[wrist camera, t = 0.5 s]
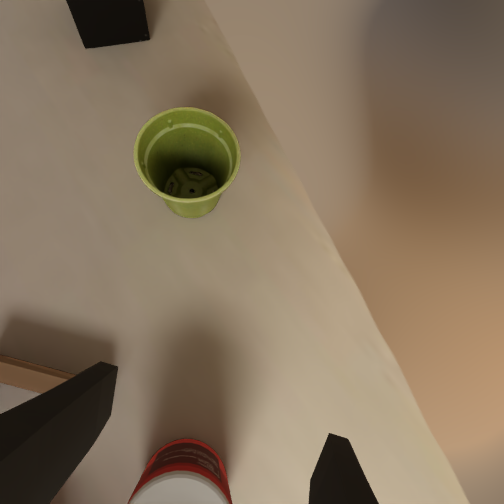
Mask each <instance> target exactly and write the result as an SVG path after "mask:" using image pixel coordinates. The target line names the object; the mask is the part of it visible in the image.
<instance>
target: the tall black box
mask: <svg viewBox="0 0 504 504" xmlns="http://www.w3.org/2000/svg"><path fill="white" fill-rule="evenodd" d="M66 1H67V3H68V6H69V9H70V11H71V14H72V16H73V19H74V21H75V24H76V26H77V29H78V32H79V34H80V37H81V39H82V42H83V44H84V47H85V48H96V47H103V46H110V45H118V44H125V43H132V42H141V41H145V40H149V39H150V38H149V31H148V26H147V20H146V14H145V8H144V3H143V0H66Z"/></svg>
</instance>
